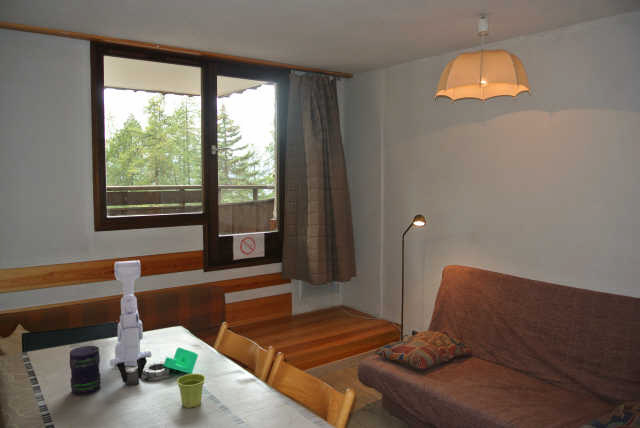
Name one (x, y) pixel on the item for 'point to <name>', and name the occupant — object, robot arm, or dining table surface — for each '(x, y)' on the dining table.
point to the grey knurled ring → (157, 372)
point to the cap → (132, 377)
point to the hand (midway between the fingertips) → (132, 379)
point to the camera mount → (182, 360)
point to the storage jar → (85, 370)
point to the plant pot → (191, 389)
